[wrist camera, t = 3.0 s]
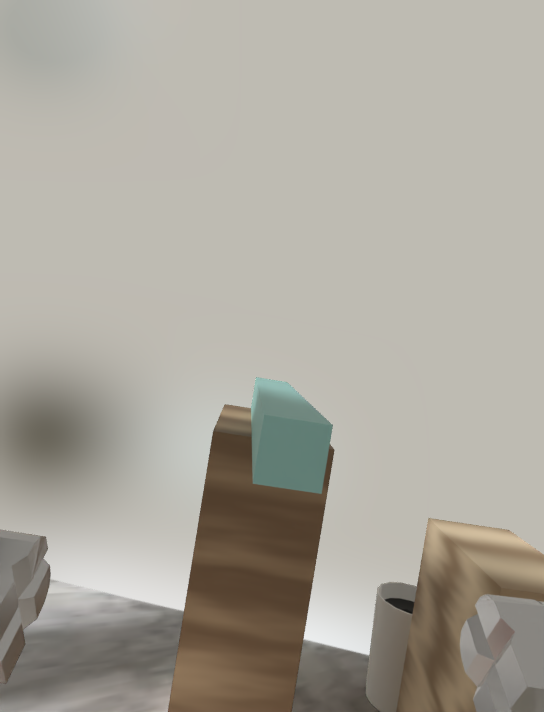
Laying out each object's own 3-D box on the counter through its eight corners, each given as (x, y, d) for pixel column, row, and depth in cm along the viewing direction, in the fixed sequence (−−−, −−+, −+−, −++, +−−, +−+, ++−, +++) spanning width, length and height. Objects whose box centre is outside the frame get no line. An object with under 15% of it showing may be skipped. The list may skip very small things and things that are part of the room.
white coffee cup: (440, 729, 45) (458, 622, 45) (369, 719, 45) (387, 612, 45) (416, 680, 52) (432, 587, 52) (354, 672, 52) (370, 578, 52)
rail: (321, 494, 21) (332, 425, 21) (252, 483, 21) (264, 414, 21) (282, 413, 47) (287, 382, 47) (251, 408, 47) (256, 377, 47)
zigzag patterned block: (557, 927, 30) (613, 603, 30) (445, 914, 30) (501, 587, 29) (469, 761, 42) (508, 530, 42) (389, 751, 42) (428, 518, 41)
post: (270, 837, 33) (334, 449, 32) (149, 823, 32) (213, 431, 32) (264, 683, 48) (307, 417, 47) (181, 672, 47) (224, 404, 47)
